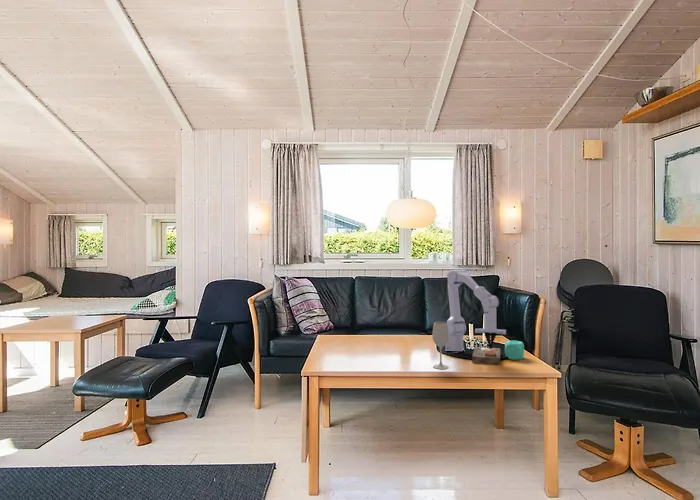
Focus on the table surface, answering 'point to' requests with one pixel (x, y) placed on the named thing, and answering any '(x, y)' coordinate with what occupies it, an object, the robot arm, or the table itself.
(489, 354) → the terracotta button
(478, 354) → the button panel
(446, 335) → the wineglass
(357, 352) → the table surface
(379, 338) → the table surface
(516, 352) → the decorative dice
